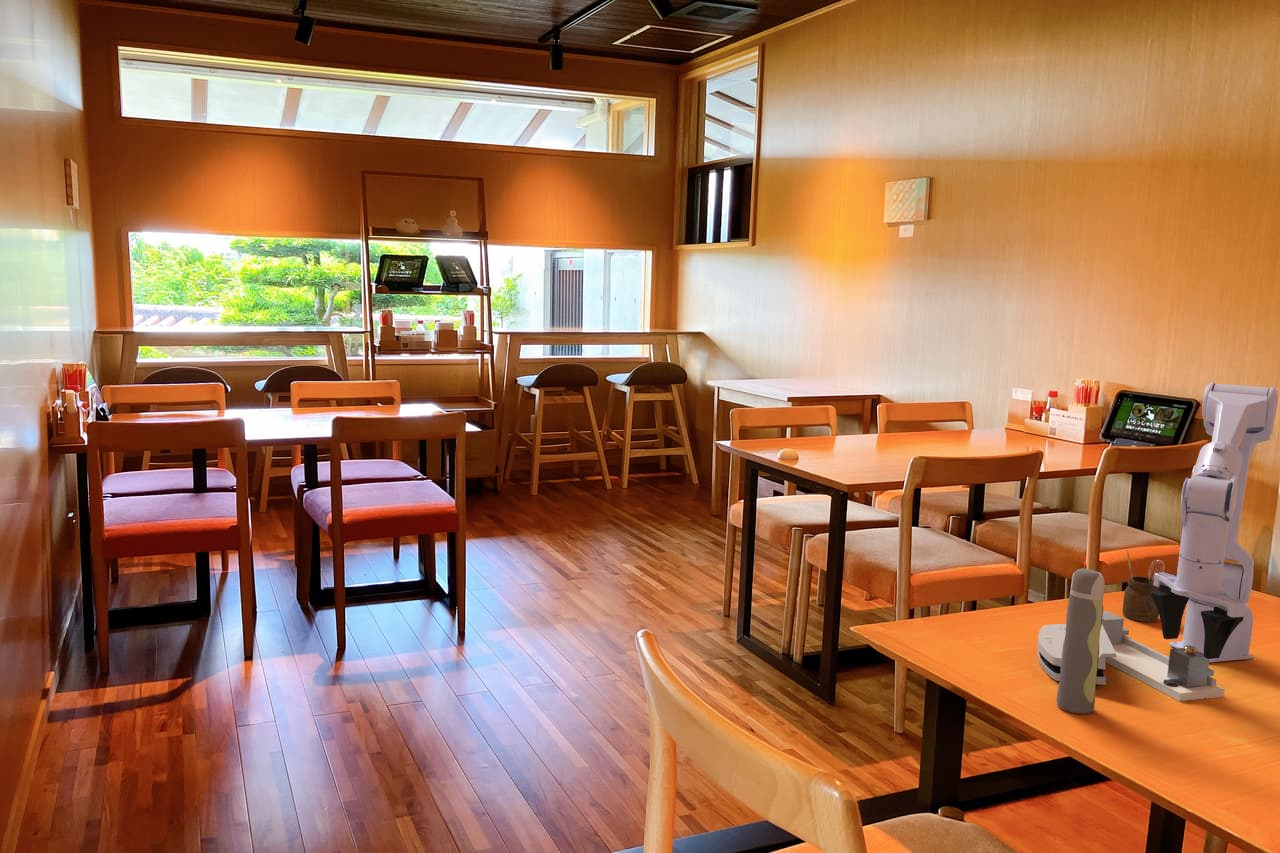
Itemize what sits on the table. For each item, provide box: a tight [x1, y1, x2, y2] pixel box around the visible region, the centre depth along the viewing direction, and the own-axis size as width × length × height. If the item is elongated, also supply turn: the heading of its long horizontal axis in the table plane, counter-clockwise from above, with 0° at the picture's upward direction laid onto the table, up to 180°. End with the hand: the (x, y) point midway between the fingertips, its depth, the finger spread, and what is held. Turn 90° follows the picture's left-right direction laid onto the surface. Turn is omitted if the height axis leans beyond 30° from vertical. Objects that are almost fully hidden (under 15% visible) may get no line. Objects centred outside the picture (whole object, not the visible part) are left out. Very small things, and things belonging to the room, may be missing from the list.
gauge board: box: [1102, 610, 1226, 702], centre depth 153 cm, size 22×8×6 cm, turn 16°
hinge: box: [1036, 623, 1116, 686], centre depth 153 cm, size 17×5×10 cm
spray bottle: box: [1056, 567, 1106, 715], centre depth 137 cm, size 5×5×20 cm
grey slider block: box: [1164, 645, 1215, 687], centre depth 146 cm, size 4×7×5 cm, turn 105°
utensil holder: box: [1122, 549, 1166, 623], centre depth 178 cm, size 6×6×12 cm
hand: (1190, 647), depth 145 cm, fingers open, 7 cm apart
